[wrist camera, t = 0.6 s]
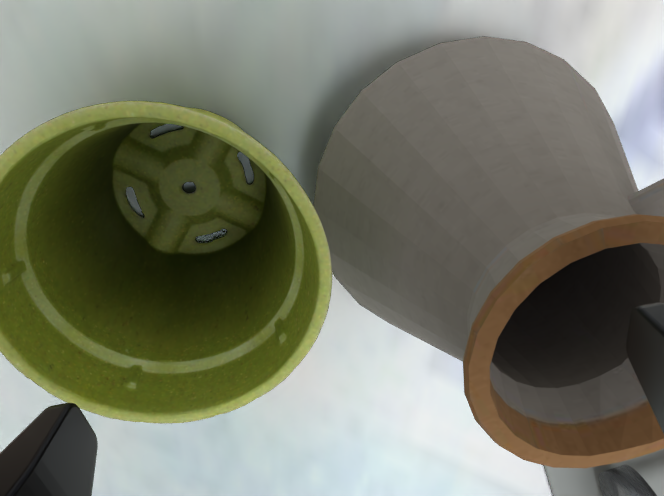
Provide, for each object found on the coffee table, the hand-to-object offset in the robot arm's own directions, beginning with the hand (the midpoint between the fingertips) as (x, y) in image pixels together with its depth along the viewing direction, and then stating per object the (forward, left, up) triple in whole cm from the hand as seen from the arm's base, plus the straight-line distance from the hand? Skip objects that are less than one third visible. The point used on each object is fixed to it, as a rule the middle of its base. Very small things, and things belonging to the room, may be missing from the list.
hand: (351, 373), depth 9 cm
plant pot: (-4, +3, -15) cm, 16 cm away
